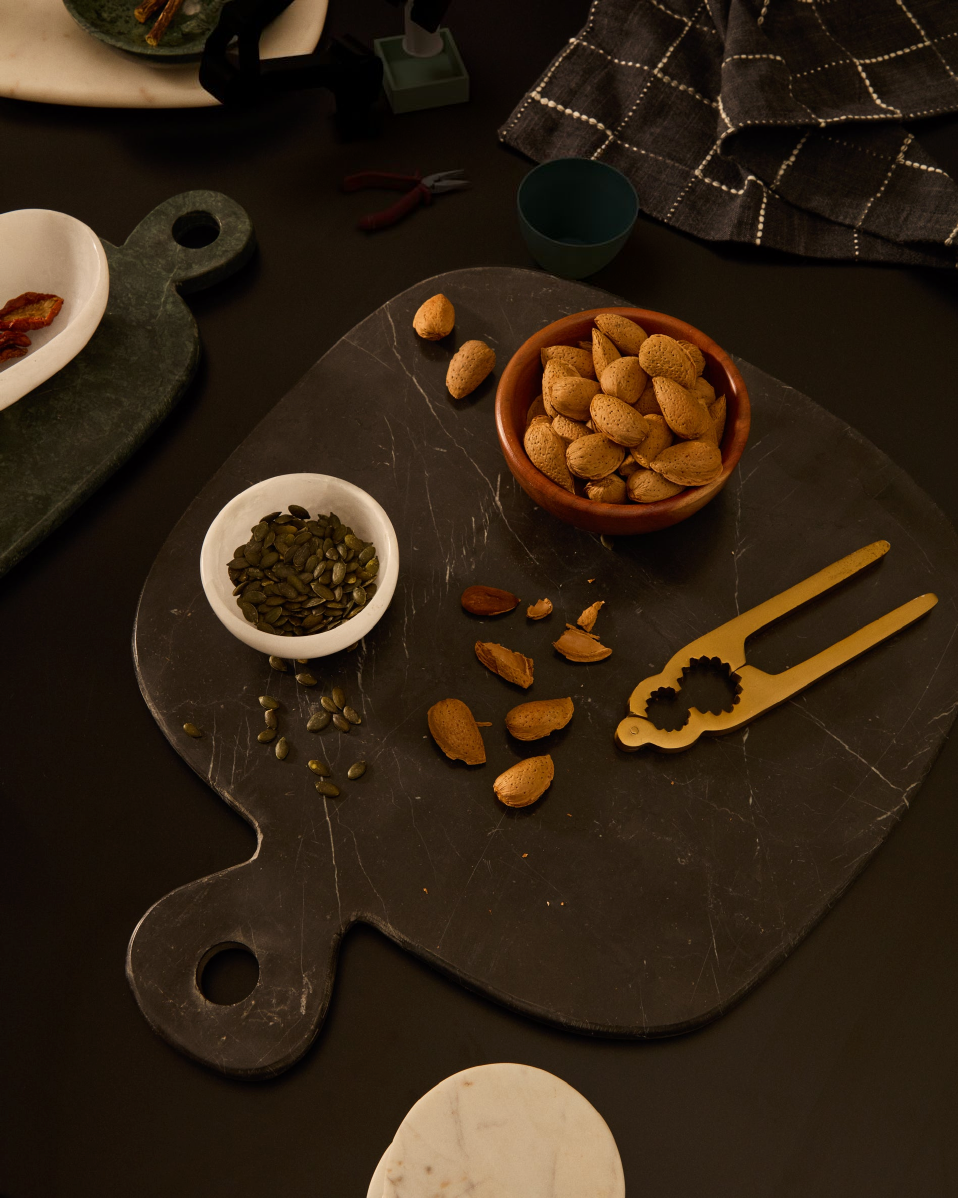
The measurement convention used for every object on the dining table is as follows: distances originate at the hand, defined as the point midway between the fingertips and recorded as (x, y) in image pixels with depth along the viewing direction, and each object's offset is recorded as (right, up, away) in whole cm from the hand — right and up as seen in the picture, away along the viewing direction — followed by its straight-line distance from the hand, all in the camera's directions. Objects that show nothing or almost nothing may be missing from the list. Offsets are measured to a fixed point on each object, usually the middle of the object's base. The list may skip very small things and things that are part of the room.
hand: (426, 6), depth 162 cm
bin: (-1, -6, +12) cm, 13 cm away
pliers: (-3, -33, -1) cm, 33 cm away
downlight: (-1, -3, +6) cm, 7 cm away
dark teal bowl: (+23, -44, -5) cm, 50 cm away
